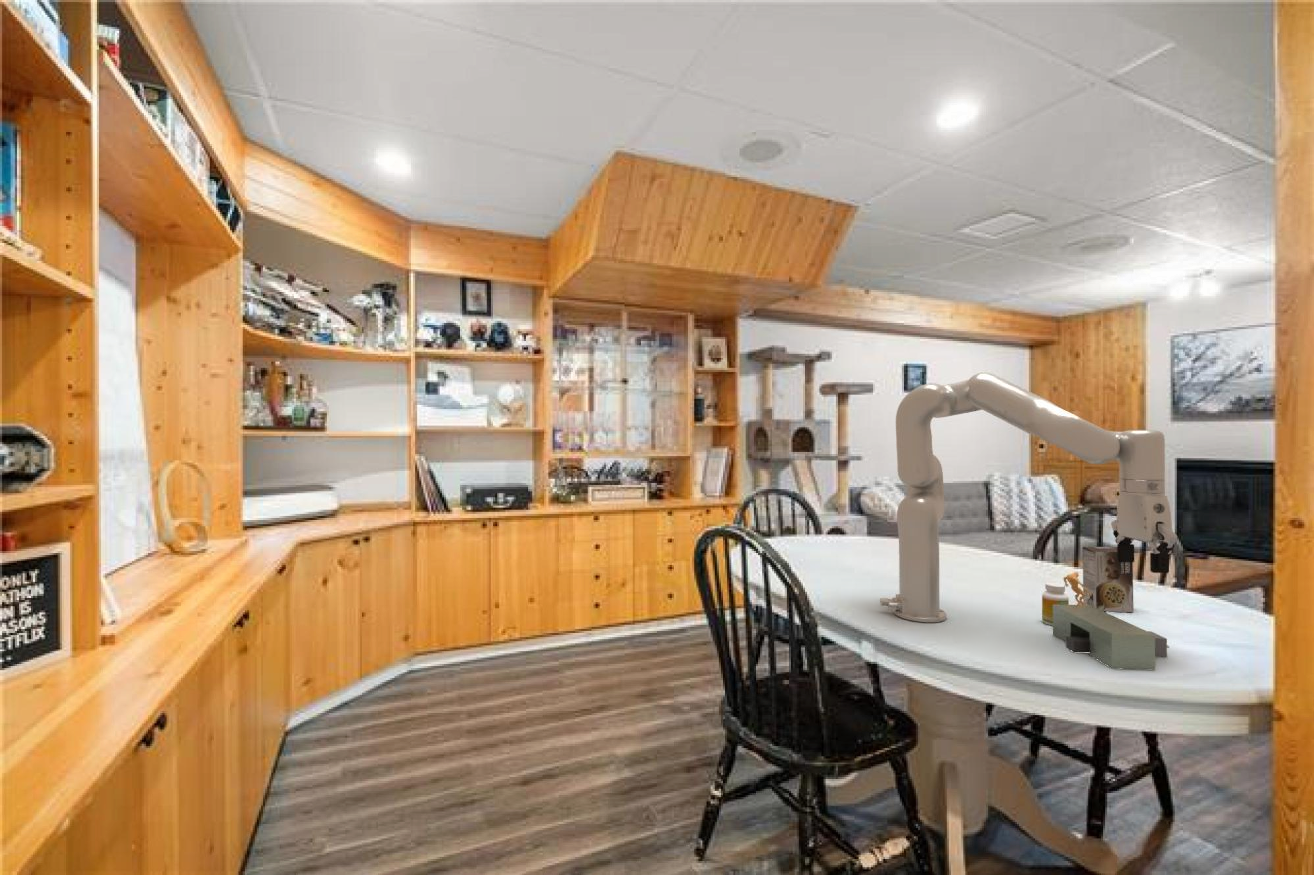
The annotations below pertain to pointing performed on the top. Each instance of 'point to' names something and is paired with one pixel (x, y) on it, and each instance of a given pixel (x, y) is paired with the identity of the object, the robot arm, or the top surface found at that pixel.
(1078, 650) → the long grey beam
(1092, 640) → the notched grey-green block
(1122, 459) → the robot arm
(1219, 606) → the top surface
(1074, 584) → the figurine
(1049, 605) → the supplement bottle
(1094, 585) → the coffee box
